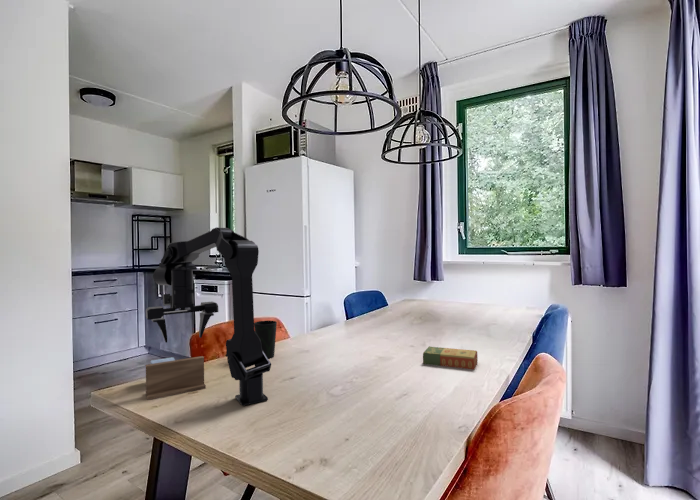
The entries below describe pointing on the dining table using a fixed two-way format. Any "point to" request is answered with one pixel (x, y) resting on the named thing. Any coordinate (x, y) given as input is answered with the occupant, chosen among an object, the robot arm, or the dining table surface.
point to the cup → (266, 336)
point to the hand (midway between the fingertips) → (183, 339)
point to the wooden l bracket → (174, 377)
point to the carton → (450, 357)
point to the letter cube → (162, 360)
